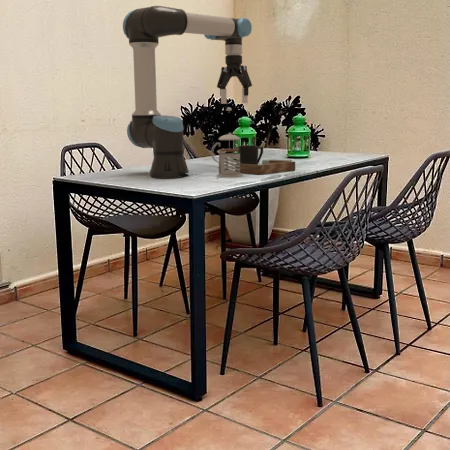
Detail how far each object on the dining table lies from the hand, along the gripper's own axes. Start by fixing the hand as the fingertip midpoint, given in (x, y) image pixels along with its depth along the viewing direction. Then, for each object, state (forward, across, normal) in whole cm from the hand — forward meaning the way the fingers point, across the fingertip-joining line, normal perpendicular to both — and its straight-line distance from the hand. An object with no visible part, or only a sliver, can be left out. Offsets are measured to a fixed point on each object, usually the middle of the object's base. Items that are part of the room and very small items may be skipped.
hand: (234, 103), depth 289 cm
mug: (+27, -29, +19) cm, 44 cm away
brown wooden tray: (+27, -40, +22) cm, 53 cm away
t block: (+27, -31, +3) cm, 41 cm away
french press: (+27, -39, +42) cm, 64 cm away
